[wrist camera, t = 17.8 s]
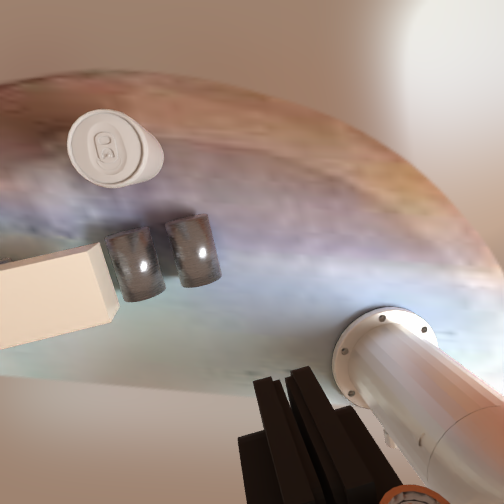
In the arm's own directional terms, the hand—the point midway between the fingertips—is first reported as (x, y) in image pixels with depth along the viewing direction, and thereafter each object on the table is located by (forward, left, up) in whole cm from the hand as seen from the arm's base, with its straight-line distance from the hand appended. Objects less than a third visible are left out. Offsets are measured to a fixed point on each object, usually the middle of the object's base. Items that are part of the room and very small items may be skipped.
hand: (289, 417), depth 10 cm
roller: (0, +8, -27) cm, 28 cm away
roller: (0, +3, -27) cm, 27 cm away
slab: (0, +16, -23) cm, 28 cm away
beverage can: (+9, +6, -27) cm, 30 cm away
